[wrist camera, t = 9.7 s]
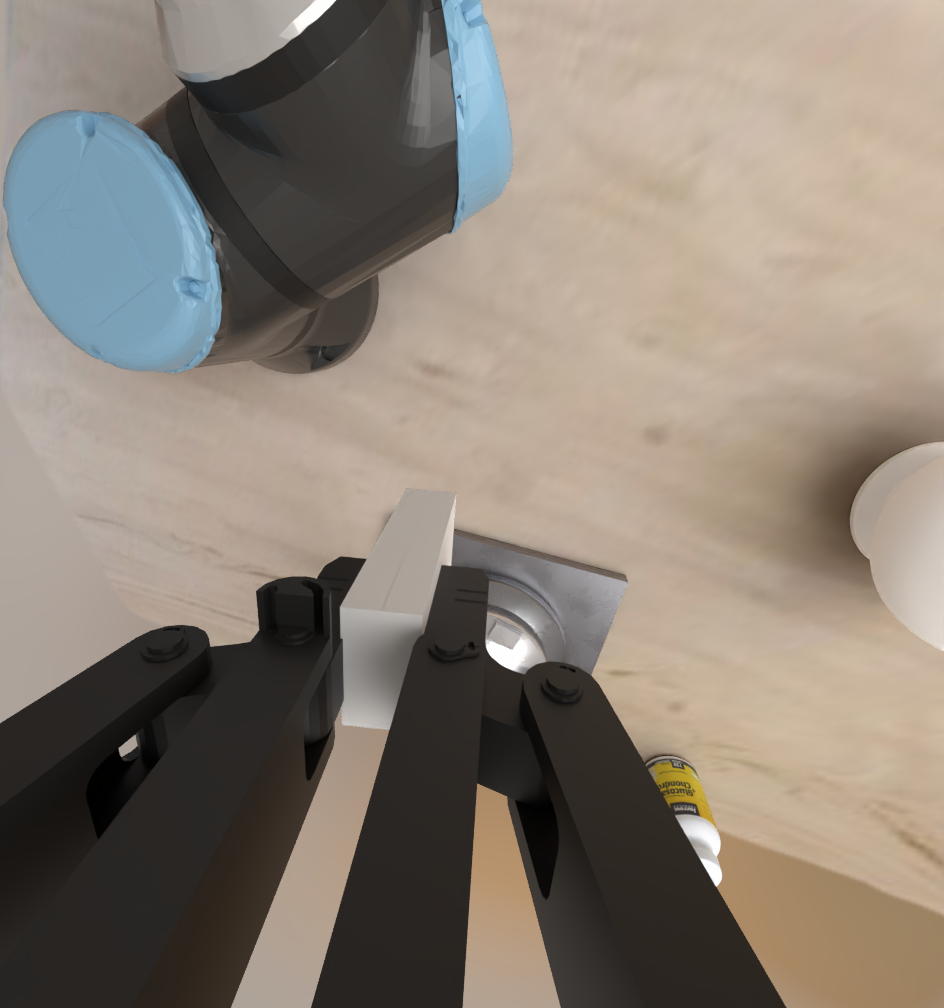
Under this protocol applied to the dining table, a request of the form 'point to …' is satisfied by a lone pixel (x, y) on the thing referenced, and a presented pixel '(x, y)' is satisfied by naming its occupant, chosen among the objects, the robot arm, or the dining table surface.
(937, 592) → the decorative vase
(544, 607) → the grey crank base
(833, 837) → the dining table surface
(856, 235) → the dining table surface
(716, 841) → the pill bottle
